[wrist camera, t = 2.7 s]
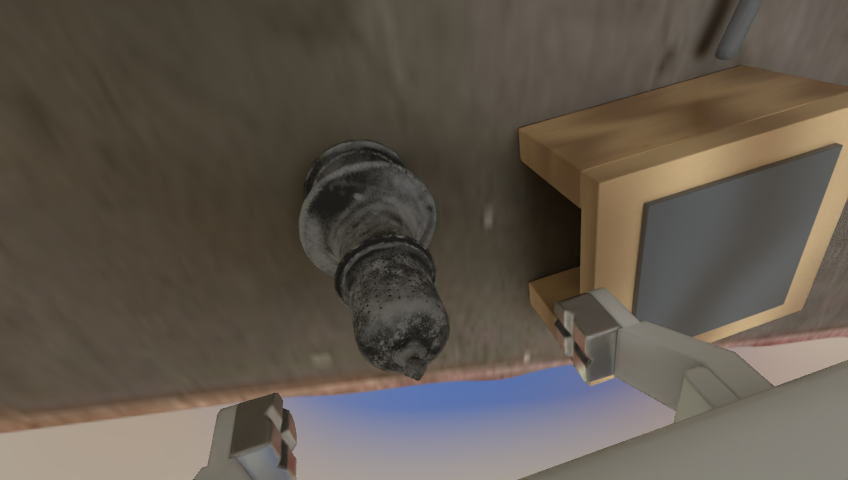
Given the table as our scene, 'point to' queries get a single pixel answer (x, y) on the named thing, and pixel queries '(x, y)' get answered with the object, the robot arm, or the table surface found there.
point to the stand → (699, 198)
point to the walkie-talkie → (737, 28)
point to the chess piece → (377, 252)
